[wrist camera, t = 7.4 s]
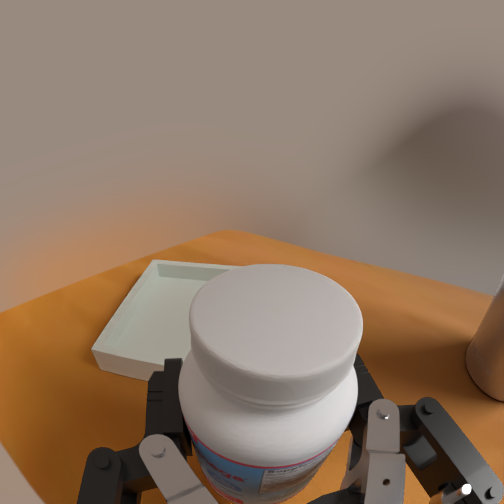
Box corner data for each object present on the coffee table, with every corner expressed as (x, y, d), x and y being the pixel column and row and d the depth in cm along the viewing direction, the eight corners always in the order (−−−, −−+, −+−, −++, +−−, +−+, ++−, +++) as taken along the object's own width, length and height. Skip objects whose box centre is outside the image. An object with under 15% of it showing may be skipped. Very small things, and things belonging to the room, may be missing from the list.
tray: (281, 288, 33) (282, 269, 31) (278, 398, 20) (281, 378, 18) (156, 278, 33) (153, 259, 32) (100, 369, 21) (90, 349, 19)
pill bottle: (188, 436, 14) (144, 270, 9) (283, 405, 16) (308, 240, 11) (227, 525, 9) (195, 446, 4) (334, 480, 11) (432, 336, 6)
